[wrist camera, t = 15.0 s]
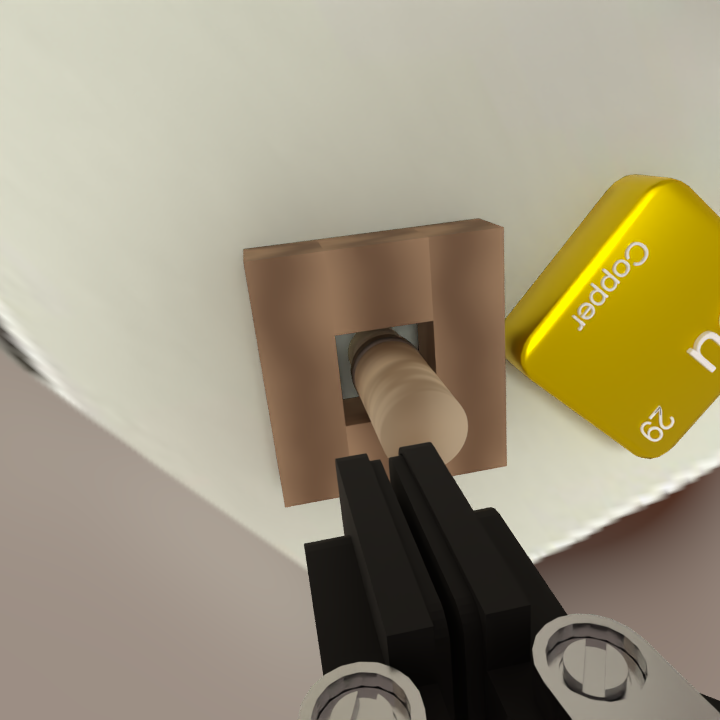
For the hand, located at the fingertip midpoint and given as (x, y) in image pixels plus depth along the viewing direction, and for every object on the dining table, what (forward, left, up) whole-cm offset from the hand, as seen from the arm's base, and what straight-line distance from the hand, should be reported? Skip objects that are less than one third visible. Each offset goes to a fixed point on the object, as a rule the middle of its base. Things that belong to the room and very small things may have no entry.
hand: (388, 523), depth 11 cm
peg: (-5, +8, -29) cm, 31 cm away
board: (-5, +8, -29) cm, 31 cm away
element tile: (-23, +8, -30) cm, 39 cm away
